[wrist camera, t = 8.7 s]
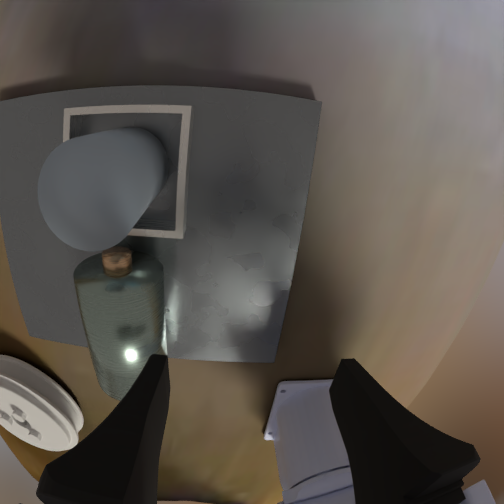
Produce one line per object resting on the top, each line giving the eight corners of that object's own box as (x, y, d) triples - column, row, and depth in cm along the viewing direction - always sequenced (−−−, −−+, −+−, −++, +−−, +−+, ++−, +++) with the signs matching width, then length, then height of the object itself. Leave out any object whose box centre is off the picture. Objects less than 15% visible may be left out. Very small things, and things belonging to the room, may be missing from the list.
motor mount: (272, 353, 23) (284, 415, 18) (34, 328, 21) (4, 377, 16) (316, 102, 16) (358, 99, 11) (4, 101, 14) (-57, 109, 8)
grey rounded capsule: (169, 205, 17) (144, 252, 11) (95, 207, 16) (47, 251, 11) (168, 124, 15) (138, 131, 10) (90, 130, 15) (32, 143, 9)
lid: (79, 438, 29) (70, 470, 24) (-7, 392, 25) (-22, 420, 21) (94, 388, 25) (80, 429, 20) (-14, 328, 21) (-38, 360, 17)
